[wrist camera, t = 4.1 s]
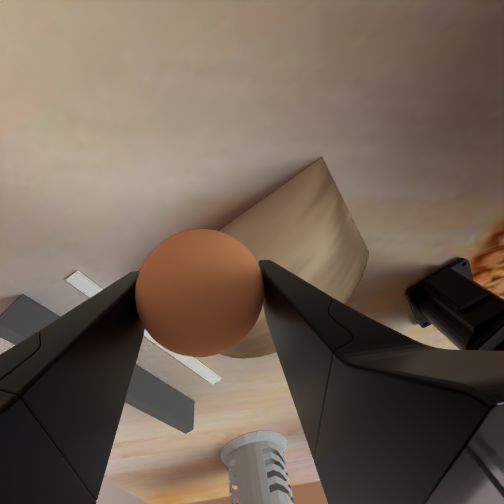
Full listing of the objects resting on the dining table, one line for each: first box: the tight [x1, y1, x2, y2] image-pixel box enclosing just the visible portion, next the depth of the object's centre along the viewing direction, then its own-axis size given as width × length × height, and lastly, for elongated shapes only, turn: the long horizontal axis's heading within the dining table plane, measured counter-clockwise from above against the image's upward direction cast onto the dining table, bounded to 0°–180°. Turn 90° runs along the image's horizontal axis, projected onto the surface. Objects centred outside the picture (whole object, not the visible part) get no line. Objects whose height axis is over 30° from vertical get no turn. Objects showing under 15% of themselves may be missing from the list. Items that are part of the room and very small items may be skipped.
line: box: [66, 270, 221, 385], centre depth 24 cm, size 18×1×1 cm, turn 34°
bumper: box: [0, 294, 194, 434], centre depth 23 cm, size 20×1×3 cm, turn 34°
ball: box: [135, 229, 264, 357], centre depth 8 cm, size 4×4×4 cm
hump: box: [219, 157, 369, 358], centre depth 28 cm, size 10×22×22 cm, turn 124°
